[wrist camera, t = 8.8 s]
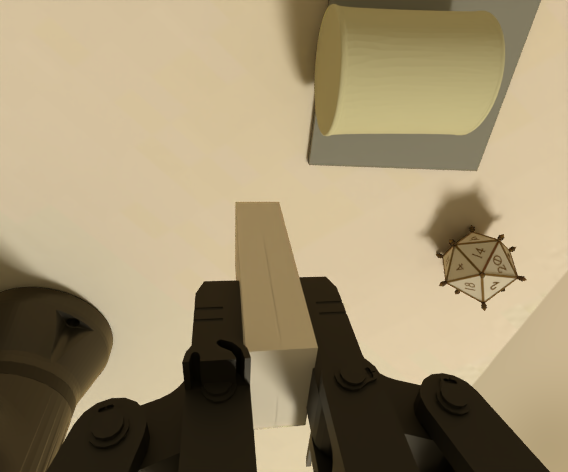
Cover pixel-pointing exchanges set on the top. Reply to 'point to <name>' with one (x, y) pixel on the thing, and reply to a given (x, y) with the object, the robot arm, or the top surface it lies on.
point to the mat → (430, 147)
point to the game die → (479, 266)
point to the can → (406, 70)
